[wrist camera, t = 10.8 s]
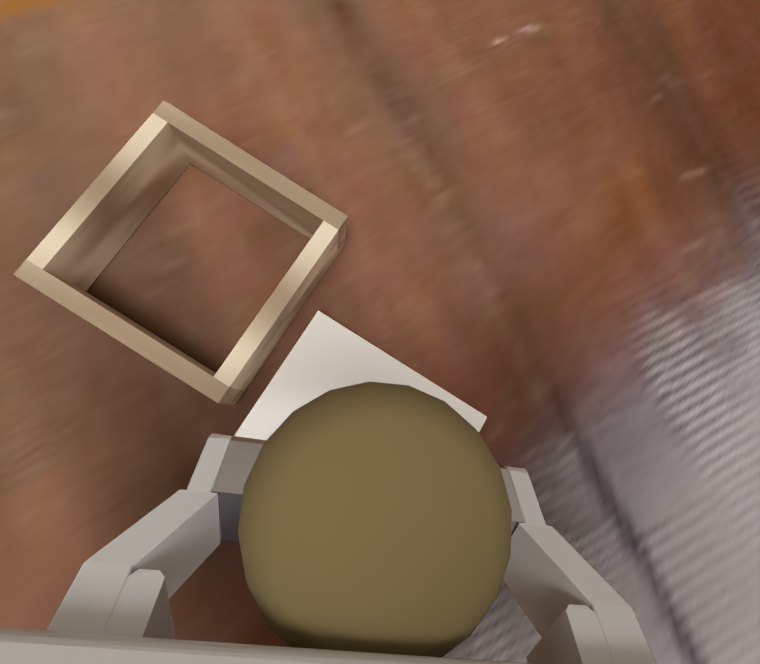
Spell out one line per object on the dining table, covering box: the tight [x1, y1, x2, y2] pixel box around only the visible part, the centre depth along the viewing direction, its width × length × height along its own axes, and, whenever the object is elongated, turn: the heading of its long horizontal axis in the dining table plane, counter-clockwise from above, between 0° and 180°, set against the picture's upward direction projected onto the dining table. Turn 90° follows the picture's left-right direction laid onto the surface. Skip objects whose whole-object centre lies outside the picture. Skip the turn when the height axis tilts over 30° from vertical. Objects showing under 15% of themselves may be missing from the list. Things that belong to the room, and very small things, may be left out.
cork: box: [238, 381, 512, 657], centre depth 13 cm, size 6×6×11 cm
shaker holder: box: [13, 101, 348, 405], centre depth 22 cm, size 10×10×4 cm
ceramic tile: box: [234, 311, 487, 440], centre depth 22 cm, size 10×10×1 cm
